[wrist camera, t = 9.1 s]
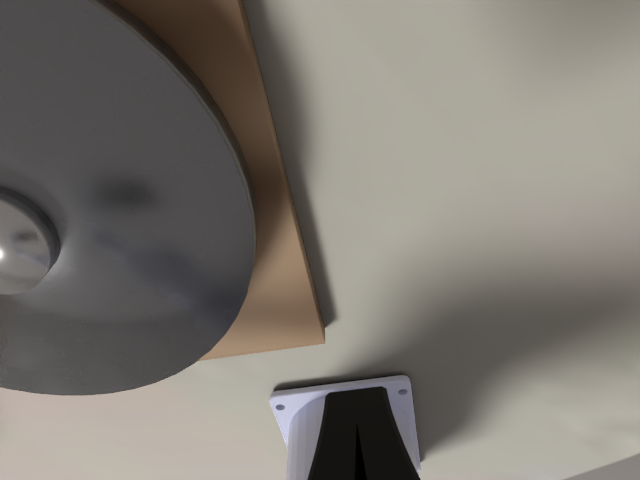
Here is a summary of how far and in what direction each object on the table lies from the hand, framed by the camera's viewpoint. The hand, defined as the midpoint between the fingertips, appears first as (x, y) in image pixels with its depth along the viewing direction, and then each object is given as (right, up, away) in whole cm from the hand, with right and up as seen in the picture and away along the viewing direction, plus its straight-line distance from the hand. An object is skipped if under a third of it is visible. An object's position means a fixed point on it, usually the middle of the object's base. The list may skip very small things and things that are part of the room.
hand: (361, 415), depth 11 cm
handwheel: (-12, +5, +7) cm, 15 cm away
